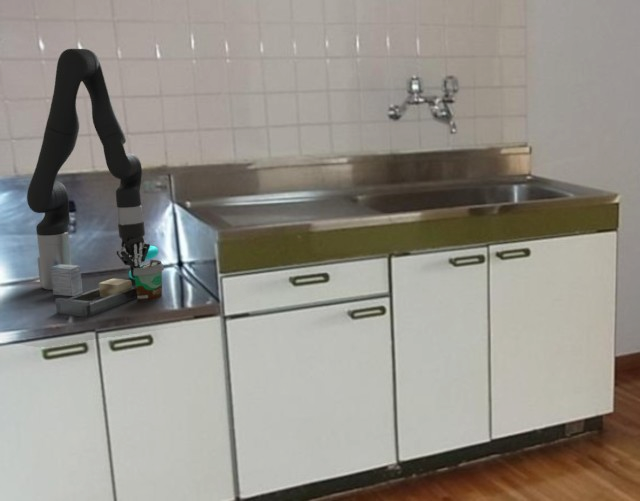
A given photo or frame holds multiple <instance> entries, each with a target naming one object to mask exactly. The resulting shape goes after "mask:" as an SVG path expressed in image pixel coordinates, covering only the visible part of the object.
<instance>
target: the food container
mask: <svg viewBox="0 0 640 501" xmlns="http://www.w3.org/2000/svg"><path fill="white" fill-rule="evenodd" d="M142 265H143V266H141V265H140V266H141V267H140V268H134V271H133V276H135V280H134V283H135V286H136V290H137V298H136V299H137V301H138V302H145V301H147V300H149V301H153V299H154V300H158V299H160V298H161V297H162V295H163V289H162V288H163V286H162V285H163V274H162V273H163V271H164V270H165V267H164V264H163V262H162V261H161V260H158V259H149V263H147V264H142ZM157 298H158V299H157ZM147 302H148V301H147Z"/></svg>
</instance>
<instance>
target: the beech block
mask: <svg viewBox="0 0 640 501" xmlns="http://www.w3.org/2000/svg"><path fill="white" fill-rule="evenodd" d="M132 287H133V284H132V280H131V279H123V278H111V279H107V280H103V281H101V282H98V288H99V291H100V296H101V297H108V296H110V295H113V294H116V293H119V292H121V291H124V290H127V289H129V288H132Z"/></svg>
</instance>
